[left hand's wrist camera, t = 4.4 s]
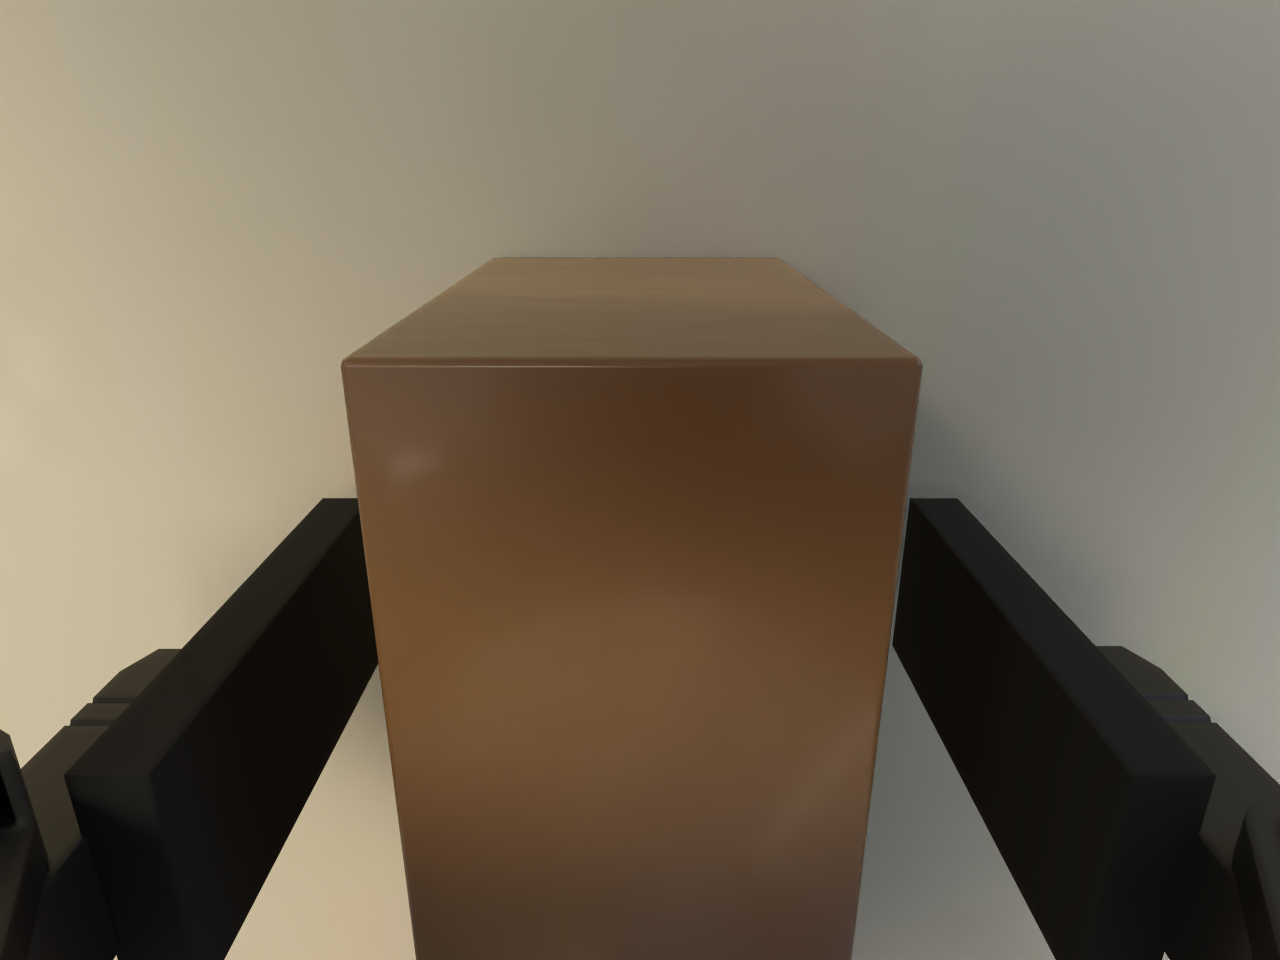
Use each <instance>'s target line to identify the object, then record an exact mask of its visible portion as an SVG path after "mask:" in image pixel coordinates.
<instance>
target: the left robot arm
mask: <svg viewBox="0 0 1280 960" xmlns="http://www.w3.org/2000/svg"><path fill="white" fill-rule="evenodd" d="M892 645H893V647H894V649H895V651H896V653H897V655H898V657H899V659H900V661H901V663H902V665H903V667H904V669H905V670H906V672H907V674H908V676H909V678H910V680H911V682H912V684H913V686H914V688H915V690H916V692H917V694H918V695H919V697H920V699H921V701H922V703H923V705H924V707H925V709H926V711H927V713H928V715H929V717H930V719H931V720H932V722H933V724H934V726H935V728H936V730H937V732H938V734H939V736H940V738H941V740H942V742H943V744H944V745H945V747H946V749H947V751H948V753H949V755H950V757H951V759H952V761H953V763H954V765H955V767H956V769H957V771H958V772H959V774H960V776H961V778H962V780H963V782H964V784H965V786H966V788H967V790H968V792H969V794H970V796H971V797H972V799H973V801H974V803H975V805H976V807H977V809H978V811H979V813H980V815H981V817H982V819H983V821H984V822H985V824H986V826H987V828H988V830H989V832H990V834H991V836H992V838H993V840H994V842H995V844H996V846H997V847H998V849H999V851H1000V853H1001V855H1002V857H1003V859H1004V861H1005V863H1006V865H1007V867H1008V869H1009V871H1010V872H1011V874H1012V876H1013V878H1014V880H1015V882H1016V884H1017V886H1018V888H1019V890H1020V892H1021V894H1022V896H1023V897H1024V899H1025V901H1026V903H1027V905H1028V907H1029V909H1030V911H1031V913H1032V915H1033V917H1034V919H1035V921H1036V922H1037V924H1038V926H1039V928H1040V930H1041V932H1042V934H1043V936H1044V938H1045V940H1046V942H1047V944H1048V946H1049V947H1050V949H1051V951H1052V953H1053V955H1054V957H1055V959H1056V960H1162V958H1163V955H1164V951H1165V953H1166V955H1167V956H1168V958H1169V959H1170V960H1280V785H1279V784H1278V783H1277V782H1276V781H1275V780H1274V779H1273V778H1272V777H1271V776H1270V775H1269V774H1268V773H1267V772H1266V771H1265V770H1264V769H1263V768H1262V767H1261V766H1260V765H1259V764H1258V763H1257V762H1256V761H1255V760H1254V759H1253V758H1252V757H1251V756H1250V755H1249V754H1248V753H1247V752H1246V751H1245V750H1244V749H1242V748H1241V747H1240V746H1239V745H1238V744H1237V743H1236V742H1235V741H1234V740H1233V739H1232V738H1231V737H1230V736H1229V735H1228V734H1227V733H1226V732H1225V731H1224V730H1223V729H1222V728H1221V727H1220V726H1219V725H1218V724H1217V723H1211V721H1210V716H1209V715H1208V714H1207V713H1206V712H1205V711H1204V710H1203V709H1202V708H1201V707H1200V706H1198V705H1197V704H1196V703H1195V702H1194V701H1193V700H1188V695H1187V694H1186V693H1185V692H1184V691H1183V690H1182V689H1181V688H1180V687H1179V686H1178V685H1177V684H1176V683H1175V682H1174V681H1173V680H1172V679H1171V678H1170V677H1169V676H1168V675H1167V674H1166V673H1165V672H1164V671H1163V670H1162V669H1160V668H1159V667H1157V666H1155V665H1154V664H1152V663H1150V662H1148V661H1147V660H1145V659H1143V658H1141V657H1140V656H1138V655H1136V654H1134V653H1133V652H1131V651H1129V650H1127V649H1126V648H1124V647H1122V646H1095V645H1094V644H1093V643H1092V642H1091V641H1090V640H1089V639H1088V638H1087V636H1086V635H1085V634H1084V633H1083V632H1082V631H1081V630H1080V629H1079V628H1078V627H1077V626H1076V625H1075V624H1074V623H1073V621H1072V620H1071V619H1070V618H1069V617H1068V616H1067V615H1066V614H1065V613H1064V612H1063V611H1062V610H1061V609H1060V608H1059V607H1058V605H1057V604H1056V603H1055V602H1054V601H1053V600H1052V599H1051V598H1050V597H1049V596H1048V595H1047V594H1046V593H1045V592H1044V591H1043V589H1042V588H1041V587H1040V586H1039V585H1038V584H1037V583H1036V582H1035V581H1034V580H1033V579H1032V578H1031V577H1030V576H1029V575H1028V573H1027V572H1026V571H1025V570H1024V569H1023V568H1022V567H1021V566H1020V565H1019V564H1018V563H1017V562H1016V561H1015V560H1014V559H1013V557H1012V556H1011V555H1010V554H1009V553H1008V552H1007V551H1006V550H1005V549H1004V548H1003V547H1002V546H1001V545H1000V544H999V543H998V541H997V540H996V539H995V538H994V537H993V536H992V535H991V534H990V533H989V532H988V531H987V530H986V529H985V528H984V526H983V525H982V524H981V523H980V522H979V521H978V520H977V519H976V518H975V517H974V516H973V515H972V514H971V513H970V512H969V510H968V509H967V508H966V507H965V506H964V505H963V504H962V503H961V502H960V501H959V500H958V499H957V498H910V504H909V512H908V520H907V529H906V537H905V545H904V553H903V562H902V570H901V578H900V586H899V595H898V603H897V611H896V619H895V627H894V636H893V644H892ZM377 665H378V655H377V647H376V639H375V631H374V623H373V616H372V608H371V600H370V592H369V584H368V576H367V568H366V560H365V553H364V545H363V537H362V529H361V521H360V513H359V505H358V498H323V499H322V500H321V501H320V502H319V503H318V504H317V505H316V506H315V507H314V508H313V509H312V511H311V512H310V513H309V514H308V515H307V516H306V517H305V518H304V519H303V520H302V521H301V522H300V523H299V524H298V525H297V527H296V528H295V529H294V530H293V531H292V532H291V533H290V534H289V535H288V536H287V537H286V538H285V539H284V540H283V541H282V543H281V544H280V545H279V546H278V547H277V548H276V549H275V550H274V551H273V552H272V553H271V554H270V555H269V556H268V557H267V559H266V560H265V561H264V562H263V563H262V564H261V565H260V566H259V567H258V568H257V569H256V570H255V571H254V572H253V573H252V575H251V576H250V577H249V578H248V579H247V580H246V581H245V582H244V583H243V584H242V585H241V586H240V587H239V588H238V589H237V591H236V592H235V593H234V594H233V595H232V596H231V597H230V598H229V599H228V600H227V601H226V602H225V603H224V604H223V606H222V607H221V608H220V609H219V610H218V611H217V612H216V613H215V614H214V615H213V616H212V617H211V618H210V619H209V620H208V622H207V623H206V624H205V625H204V626H203V627H202V628H201V629H200V630H199V631H198V632H197V633H196V634H195V635H194V636H193V638H192V639H191V640H190V641H189V642H188V643H187V644H186V645H185V646H184V647H183V648H182V649H158V650H156V651H155V652H153V653H151V654H149V655H148V656H146V657H144V658H142V659H141V660H139V661H137V662H136V663H134V664H132V665H130V666H129V667H127V668H125V669H124V670H122V671H120V672H119V673H118V674H117V675H116V676H115V677H114V678H113V679H112V680H111V681H110V682H109V683H108V684H107V685H106V686H105V687H104V688H103V689H102V690H101V691H100V692H99V693H98V694H97V695H96V696H95V697H94V698H93V703H87V704H86V705H85V706H84V707H83V708H82V709H81V710H80V711H79V712H78V713H77V714H76V715H75V716H74V717H73V718H72V719H71V723H70V726H64V727H63V728H62V729H61V730H60V731H59V732H58V733H57V734H56V735H55V736H54V737H53V738H52V739H51V740H50V741H49V742H48V743H47V744H46V745H45V746H44V747H43V748H42V749H41V750H40V751H39V752H38V753H37V754H36V755H35V756H34V757H33V758H32V759H31V760H30V761H29V762H28V763H26V764H25V765H24V766H23V767H22V768H21V769H20V766H19V763H18V760H17V757H16V754H15V750H14V747H13V744H12V741H11V738H10V735H8V734H7V733H5V732H4V731H2V730H0V960H113V959H114V958H115V956H116V955H117V958H118V960H224V959H225V957H226V955H227V953H228V951H229V949H230V947H231V946H232V944H233V942H234V940H235V938H236V936H237V934H238V932H239V930H240V928H241V926H242V924H243V922H244V921H245V919H246V917H247V915H248V913H249V911H250V909H251V907H252V905H253V903H254V901H255V899H256V897H257V896H258V894H259V892H260V890H261V888H262V886H263V884H264V882H265V880H266V878H267V876H268V874H269V872H270V871H271V869H272V867H273V865H274V863H275V861H276V859H277V857H278V855H279V853H280V851H281V849H282V847H283V846H284V844H285V842H286V840H287V838H288V836H289V834H290V832H291V830H292V828H293V826H294V824H295V822H296V821H297V819H298V817H299V815H300V813H301V811H302V809H303V807H304V805H305V803H306V801H307V799H308V797H309V796H310V794H311V792H312V790H313V788H314V786H315V784H316V782H317V780H318V778H319V776H320V774H321V772H322V771H323V769H324V767H325V765H326V763H327V761H328V759H329V757H330V755H331V753H332V751H333V749H334V747H335V746H336V744H337V742H338V740H339V738H340V736H341V734H342V732H343V730H344V728H345V726H346V724H347V722H348V721H349V719H350V717H351V715H352V713H353V711H354V709H355V707H356V705H357V703H358V701H359V699H360V697H361V696H362V694H363V692H364V690H365V688H366V686H367V684H368V682H369V680H370V678H371V676H372V674H373V672H374V671H375V669H376V667H377Z"/></svg>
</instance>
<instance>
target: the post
mask: <svg viewBox="0 0 1280 960" xmlns="http://www.w3.org/2000/svg"><path fill="white" fill-rule="evenodd" d="M922 367H923V366H922V362H921V360H920V359H919V358H918V357H916V356H915V355H913V354H912V353H911V352H909V351H908V350H906V349H905V348H904V347H902V346H901V345H899V344H898V343H897V342H895V341H894V340H892V339H891V338H890V337H888V336H887V335H885V334H884V333H883V332H881V331H880V330H878V329H877V328H876V327H874V326H873V325H871V324H870V323H869V322H867V321H866V320H864V319H863V318H862V317H860V316H859V315H857V314H856V313H855V312H853V311H852V310H850V309H849V308H848V307H846V306H845V305H843V304H842V303H841V302H839V301H838V300H836V299H835V298H834V297H832V296H831V295H829V294H828V293H827V292H825V291H824V290H822V289H821V288H820V287H818V286H817V285H815V284H814V283H813V282H811V281H810V280H808V279H807V278H806V277H804V276H803V275H801V274H800V273H799V272H797V271H796V270H794V269H793V268H792V267H790V266H789V265H787V264H786V263H785V262H783V261H782V260H780V259H778V258H494V259H492V260H490V261H489V262H487V263H486V264H484V265H483V266H481V267H480V268H478V269H477V270H475V271H474V272H472V273H471V274H469V275H468V276H466V277H465V278H463V279H462V280H460V281H459V282H457V283H456V284H454V285H453V286H451V287H450V288H448V289H447V290H445V291H444V292H443V293H441V294H440V295H438V296H437V297H435V298H434V299H432V300H431V301H429V302H428V303H426V304H425V305H423V306H422V307H420V308H419V309H417V310H416V311H414V312H413V313H411V314H410V315H408V316H407V317H405V318H404V319H402V320H401V321H399V322H398V323H396V324H395V325H393V326H392V327H390V328H389V329H388V330H386V331H385V332H383V333H382V334H380V335H379V336H377V337H376V338H374V339H373V340H371V341H370V342H368V343H367V344H365V345H364V346H362V347H361V348H359V349H358V350H356V351H355V352H353V353H352V354H350V355H349V356H347V357H346V358H344V359H343V360H342V364H341V371H342V379H343V387H344V395H345V403H346V411H347V419H348V427H349V434H350V442H351V450H352V458H353V466H354V474H355V482H356V490H357V497H358V505H359V513H360V521H361V529H362V537H363V545H364V553H365V560H366V568H367V576H368V584H369V592H370V600H371V608H372V616H373V623H374V631H375V639H376V647H377V655H378V663H379V671H380V679H381V686H382V694H383V702H384V710H385V718H386V726H387V734H388V742H389V749H390V757H391V765H392V773H393V781H394V789H395V797H396V805H397V812H398V820H399V828H400V836H401V844H402V852H403V860H404V868H405V876H406V883H407V891H408V899H409V907H410V915H411V923H412V931H413V939H414V946H415V954H416V960H851V959H852V951H853V943H854V934H855V926H856V918H857V909H858V901H859V893H860V884H861V876H862V868H863V859H864V851H865V843H866V834H867V826H868V818H869V809H870V801H871V793H872V784H873V776H874V768H875V759H876V751H877V743H878V734H879V726H880V718H881V709H882V701H883V693H884V684H885V676H886V668H887V659H888V651H889V643H890V634H891V626H892V618H893V609H894V601H895V592H896V584H897V576H898V567H899V559H900V551H901V542H902V534H903V526H904V517H905V509H906V501H907V492H908V484H909V476H910V467H911V459H912V451H913V442H914V434H915V426H916V417H917V409H918V401H919V392H920V384H921V376H922Z"/></svg>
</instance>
